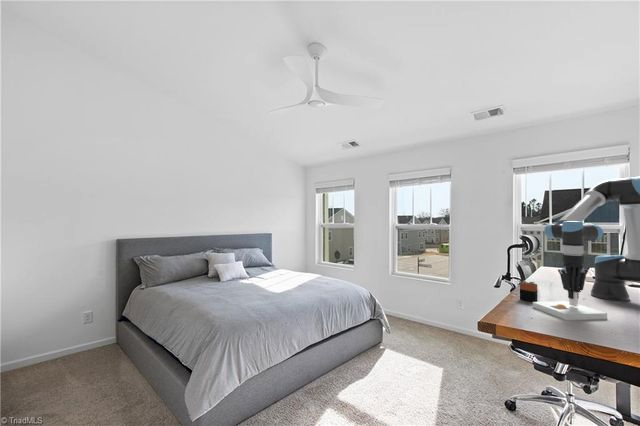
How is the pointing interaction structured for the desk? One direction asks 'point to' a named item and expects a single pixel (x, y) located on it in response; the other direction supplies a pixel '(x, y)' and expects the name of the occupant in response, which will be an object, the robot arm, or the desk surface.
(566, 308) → the ball
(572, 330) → the desk surface
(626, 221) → the robot arm
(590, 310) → the white flat square slab
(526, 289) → the battery
